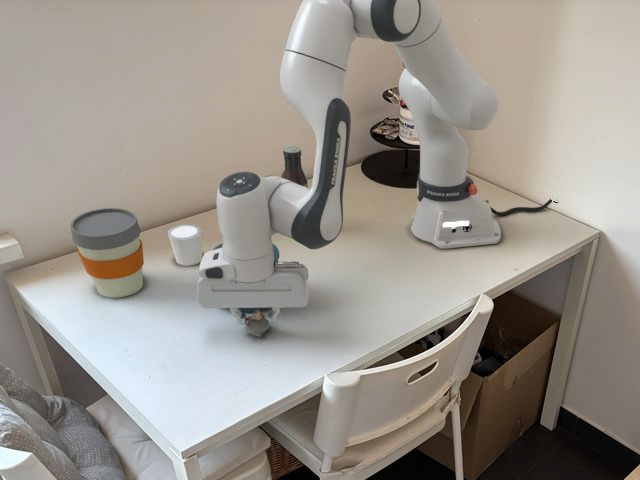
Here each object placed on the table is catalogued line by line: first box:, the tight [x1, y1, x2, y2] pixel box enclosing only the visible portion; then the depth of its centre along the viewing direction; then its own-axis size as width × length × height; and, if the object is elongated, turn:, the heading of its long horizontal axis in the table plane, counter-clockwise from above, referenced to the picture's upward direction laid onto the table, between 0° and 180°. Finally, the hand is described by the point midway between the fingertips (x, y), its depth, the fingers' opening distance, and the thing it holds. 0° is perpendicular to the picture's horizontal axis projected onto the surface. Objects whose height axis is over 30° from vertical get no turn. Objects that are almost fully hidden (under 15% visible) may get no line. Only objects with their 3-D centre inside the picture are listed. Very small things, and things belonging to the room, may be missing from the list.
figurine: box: [245, 308, 270, 338], centre depth 137 cm, size 5×4×6 cm
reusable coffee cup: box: [69, 207, 145, 299], centre depth 144 cm, size 12×13×15 cm
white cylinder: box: [167, 224, 203, 267], centre depth 157 cm, size 7×7×7 cm
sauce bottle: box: [280, 146, 309, 188], centre depth 168 cm, size 6×6×20 cm
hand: (257, 323), depth 138 cm, fingers closed on figurine, 4 cm apart
